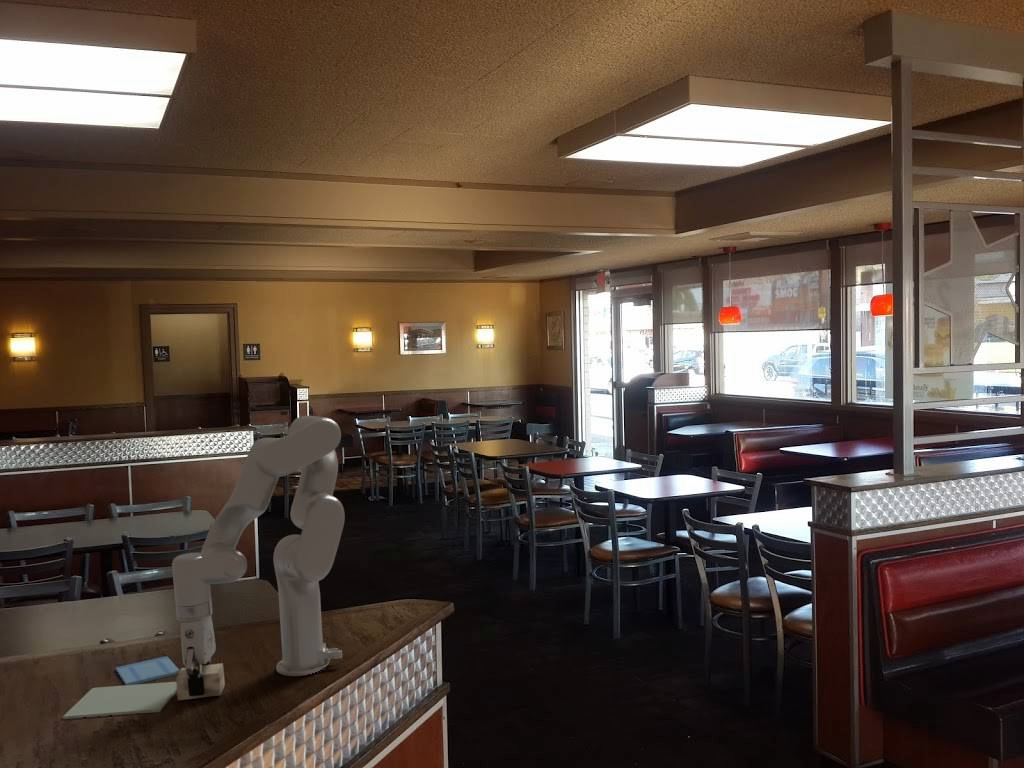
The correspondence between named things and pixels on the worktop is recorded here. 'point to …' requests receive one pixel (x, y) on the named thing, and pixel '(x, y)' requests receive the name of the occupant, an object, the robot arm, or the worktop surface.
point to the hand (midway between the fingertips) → (201, 688)
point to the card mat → (123, 700)
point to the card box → (212, 681)
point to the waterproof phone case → (147, 670)
